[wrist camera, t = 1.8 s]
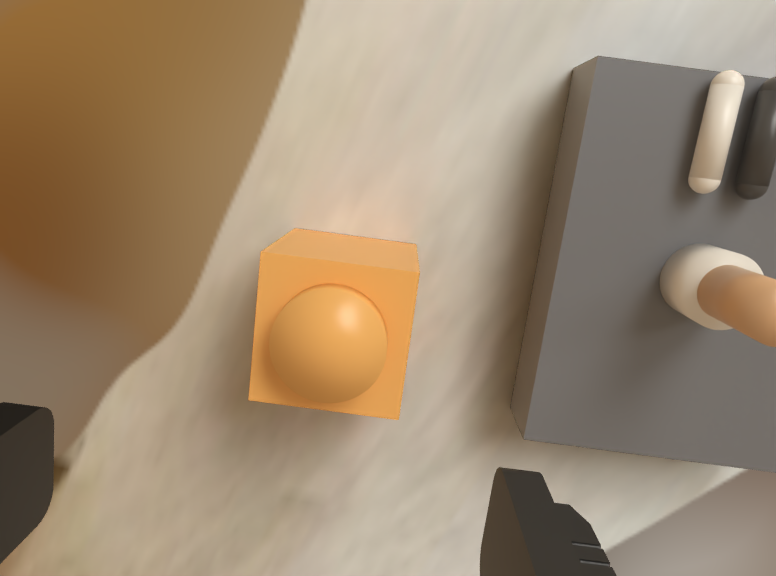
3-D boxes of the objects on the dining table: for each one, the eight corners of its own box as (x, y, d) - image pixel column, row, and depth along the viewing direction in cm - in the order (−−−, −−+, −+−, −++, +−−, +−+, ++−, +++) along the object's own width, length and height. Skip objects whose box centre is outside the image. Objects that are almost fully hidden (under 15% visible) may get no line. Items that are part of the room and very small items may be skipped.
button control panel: (573, 67, 23) (659, 24, 15) (833, 102, 23) (1052, 76, 15) (510, 407, 26) (554, 515, 18) (739, 437, 26) (881, 558, 18)
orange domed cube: (294, 228, 25) (253, 256, 18) (416, 244, 25) (420, 278, 18) (283, 344, 26) (239, 412, 19) (399, 359, 26) (398, 433, 19)
